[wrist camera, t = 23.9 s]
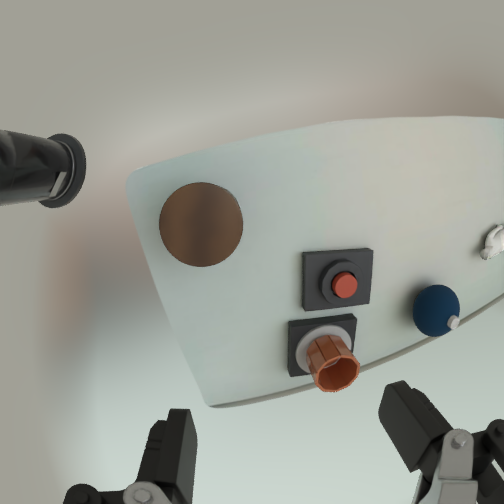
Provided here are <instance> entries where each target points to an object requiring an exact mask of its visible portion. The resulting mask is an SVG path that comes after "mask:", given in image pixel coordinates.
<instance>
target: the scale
mask: <svg viewBox="0 0 504 504" xmlns="http://www.w3.org/2000/svg"><path fill="white" fill-rule="evenodd" d="M356 324H357V318H356V317H355V316H354V315H353V314H345V315H338V316H330V317H322V318H313V319H304V320H294V321H289V328H288V372H289V375H290V377H294V376H302V375H309V374H311V372H310V370H309V368H308V365H307V363H306V351H307V349H308V348H309V346H310V345H311V344H312V343H313V341H314V340H315V341H316V339H318V338H320V337H323V336H325V335H335V336H339V337H341V338H342V340H343V341H344V342H345V343H346V345H347V346H348V348H349V349H350V351H351V352H352V353H353V347H354V340H355V332H356ZM340 358H341V357H340ZM340 358H339V359H340ZM339 359H338V360H339ZM338 360H337V361H338ZM337 361H336V362H337ZM336 362H335V363H336ZM335 363H334V364H335ZM332 365H333V364H332ZM330 366H331V365H330ZM327 367H329V366H327ZM324 368H326V367H324Z"/></svg>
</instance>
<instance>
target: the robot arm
mask: <svg viewBox="0 0 504 504" xmlns="http://www.w3.org/2000/svg"><path fill="white" fill-rule="evenodd" d="M75 174H76V158H75V154H74V152H73V150H72V148H71V147H70V146H69V145H68V144H67V143H65V142H62V141H54V140H50V139H46V138H41V137H36V136H31V135H26V134H22V133H16V132H11V131H6V130H0V206H3V205H10V204H18V203H25V202H34V201H43V200H56V199H59V198H61V197H62V196H64V195H65V194H66V193H67V192H68V190H69V189H70V187H71V186H72V184H73V181H74V178H75ZM378 414H379V419H380V422H381V423H382V425H383V427H384V429H385V430H386V432H387V433H388V435H389V437H390V438H391V440H392V442H393V444H394V445H395V447H396V449H397V451H398V452H399V454H400V456H401V457H402V459H403V461H404V463H405V464H406V466H407V468H408V470H409V471H410V473H411V472H413V471H415V470H418V469H420V470H421V474H420V476H419V480H418V483H417V487H416V491H415V494H414V497H413V501H412V504H476V501H477V502H478V504H504V481H503V479H502V478H501V476H500V475H499V473H498V472H497V470H496V469H495V468H494V466H493V465H492V461H493V460H494V459H495V461H496V462H497V463H498V465H499V466H500V467H501V469H502V470H503V472H504V420H502V419H497V420H494V421H492V422H491V423H490V424H489V425H488V427H487V429H486V430H484V431H480V432H477V433H472V434H470V433H469V432H468V431H466V430H463V429H453V428H452V427H451V425H450V424H449V423H448V422H447V420H446V419H445V418H444V417H443V416H442V415H441V413H440V412H439V411H438V410H437V409H436V408H435V407H434V405H433V404H432V403H431V402H430V400H429V399H428V398H427V397H426V395H425V394H424V393H422V392H420V391H419V390H417V389H415V388H413V389H411V388H410V387H409V385H408V384H407V383H406V382H405V381H403V380H402V381H398V382H395V383H391V384H388V385H387V386H386V387H385V390H384V393H383V397H382V400H381V404H380V407H379V412H378ZM145 447H146V449H145V450H144V454H143V457H142V461H141V465H140V469H139V472H138V476H137V479H136V481H135V482H134V483H133V484H131V485H129V486H128V487H127V488H126V489H124V490H121V491H108V492H107V491H106V492H98V491H97V490H96V489H95V488H94V487H92V486H90V485H87V484H77V485H74V486H72V487H71V488H70V489H69V490H68V491H67V493H66V496H65V499H64V502H63V504H192V497H193V485H194V475H195V474H194V473H195V464H196V454H197V433H196V429H195V426H194V422H193V419H192V415H191V412H190V409H170V411H169V414H168V418H167V421H165V420H158V421H157V422H156V423H155V424H154V425H153V427H152V428H151V429H150V432H149V436H148V441H147V443H146V446H145Z"/></svg>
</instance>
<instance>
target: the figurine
mask: <svg viewBox="0 0 504 504" xmlns="http://www.w3.org/2000/svg"><path fill="white" fill-rule="evenodd" d="M496 226H497V228H495V229H494V230H492V231H491V232H490V233H489V235H488V236H487V238H486V241H485V249H483V250H481V251H480V255H481V257H482V258H483V259H484V260H487V259H491V258H492V257H493V256H494V255H497V254H498V253H501V252H502V250H504V228H503V225H496ZM501 229H502V230H501ZM498 230H501V231H499V232H498ZM497 232H498V233H497Z"/></svg>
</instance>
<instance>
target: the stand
mask: <svg viewBox="0 0 504 504" xmlns="http://www.w3.org/2000/svg"><path fill="white" fill-rule="evenodd" d="M159 230H160V235H161V238H162V241H163V243H164V245H165V247H166V248H167V250H168V251H169V252H170V253H171V254H172V255H173V256H174V257H175V258H176V259H178V260H179V261H181V262H183V263H185V264H188V265H191V266H197V267H206V266H211V265H215V264H217V263H220V262H222V261H223V260H225V259H226V258H227V257H229V256H230V255H231V254H232V253H233V251H234V250H235V249H236V247H237V246H238V244H239V242H240V239H241V236H242V231H243V218H242V214H241V210H240V207H239V205H238V202H237V201H236V199H235V197H234V196H233V195H232V194H231V193H230V192H229V191H227V190H226V189H224V188H222V187H220V186H217V185H214V184H210V183H203V182H200V183H192V184H188V185H185V186H183V187H181V188H179V189H178V190H176V191H175V192H174V193H173V194H172V195H171V196H170V197H169V198H168V199H167V201H166V202H165V204H164V206H163V208H162V211H161V214H160V219H159Z"/></svg>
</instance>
